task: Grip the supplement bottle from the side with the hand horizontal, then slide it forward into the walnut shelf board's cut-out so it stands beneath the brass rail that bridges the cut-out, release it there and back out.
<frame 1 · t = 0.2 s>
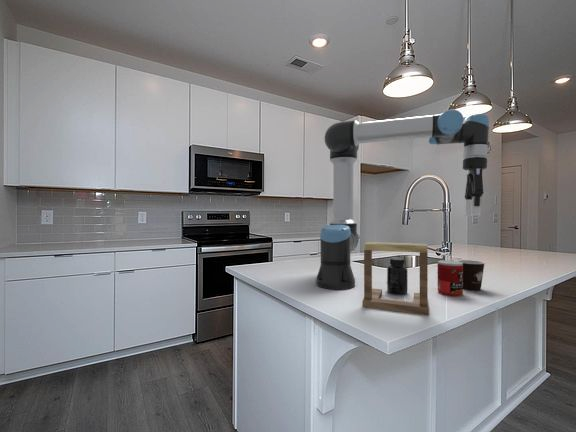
hand: (472, 216, 107), 27 cm above the countertop, tool pointing down, fingers open, 13 cm apart
supplement bottle: (397, 292, 103), on the countertop
canned food: (450, 293, 102), on the countertop
notched shelf: (396, 302, 91), on the countertop
coffee mug: (466, 289, 108), on the countertop
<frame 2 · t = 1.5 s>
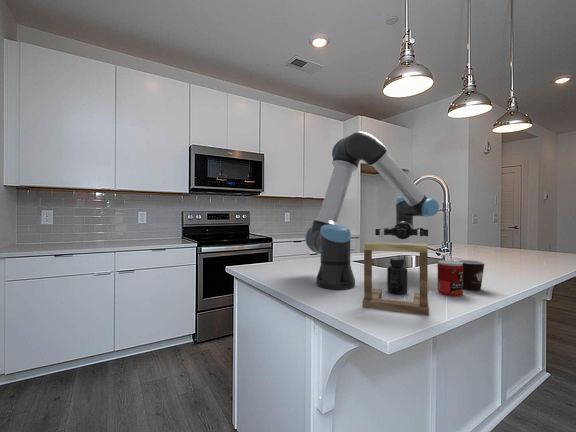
hand: (399, 234, 112), 20 cm above the countertop, tool horizontal, fingers open, 13 cm apart
nothing on the countertop moved.
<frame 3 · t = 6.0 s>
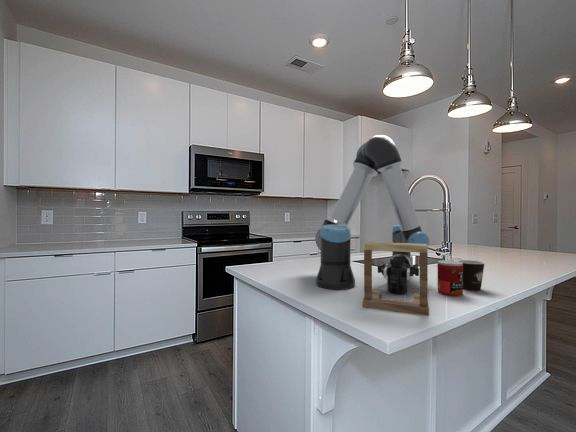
hand: (396, 274, 99), 7 cm above the countertop, tool horizontal, fingers closed on supplement bottle, 7 cm apart
supplement bottle: (397, 292, 103), on the countertop, touching gripper
everything else where it was.
when the fingers open (9 cm above the countertop, at t = 12.3 s): supplement bottle drops 1 cm, resting in notched shelf.
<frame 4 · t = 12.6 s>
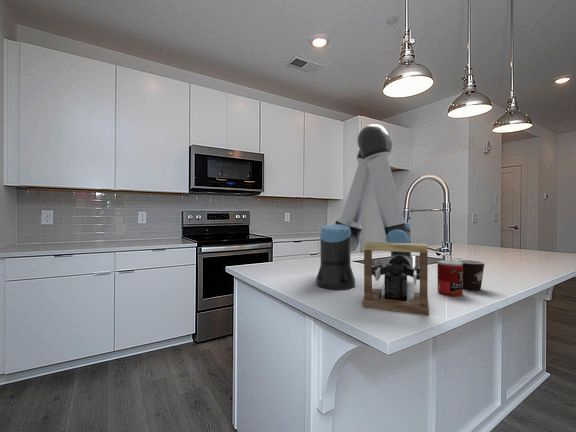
hand: (395, 277, 88), 9 cm above the countertop, tool horizontal, fingers open, 10 cm apart
supplement bottle: (395, 303, 92), resting in notched shelf
everything else where it was.
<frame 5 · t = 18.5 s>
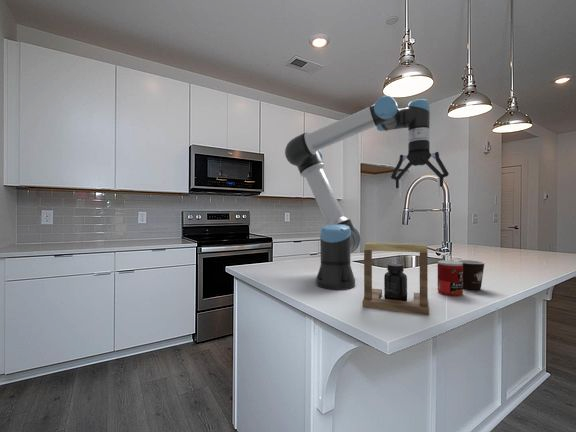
hand: (418, 196, 113), 35 cm above the countertop, tool pointing down, fingers open, 13 cm apart
nothing on the countertop moved.
at the end: supplement bottle inside the target area on the notched shelf (0.7 cm from its centre), point 0.0 cm above the notched shelf's base; supplement bottle tilted 0°; the gripper is holding nothing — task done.
